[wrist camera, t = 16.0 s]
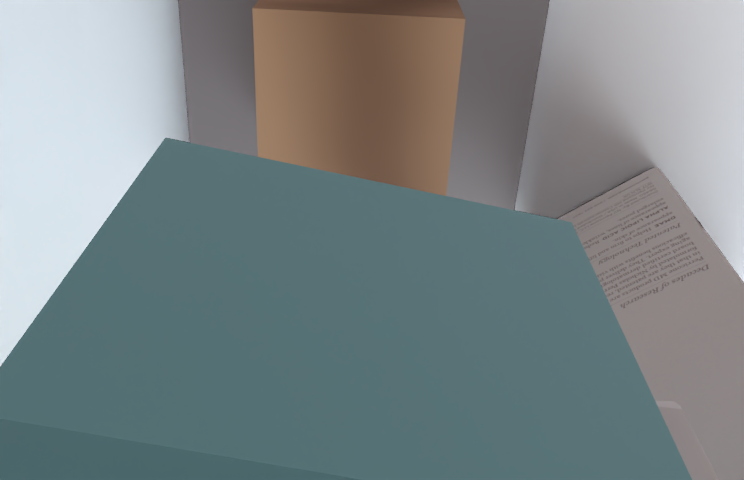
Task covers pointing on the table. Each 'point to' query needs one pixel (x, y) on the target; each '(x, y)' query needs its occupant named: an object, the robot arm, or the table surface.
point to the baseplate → (474, 97)
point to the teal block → (325, 340)
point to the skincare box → (673, 306)
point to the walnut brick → (359, 87)
